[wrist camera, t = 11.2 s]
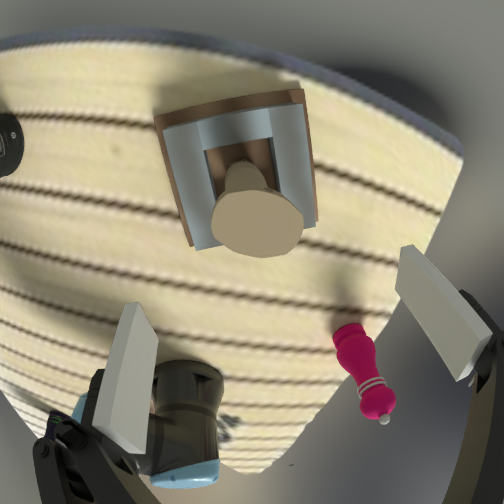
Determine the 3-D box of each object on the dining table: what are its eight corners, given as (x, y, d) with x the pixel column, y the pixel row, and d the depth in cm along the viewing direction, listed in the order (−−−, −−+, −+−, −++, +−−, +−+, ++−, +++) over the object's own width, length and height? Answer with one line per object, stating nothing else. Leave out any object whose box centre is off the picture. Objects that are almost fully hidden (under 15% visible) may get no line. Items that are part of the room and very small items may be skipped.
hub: (190, 243, 38) (187, 263, 34) (155, 116, 29) (144, 120, 25) (316, 217, 38) (328, 235, 34) (301, 88, 29) (314, 88, 25)
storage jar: (62, 424, 66) (54, 460, 54) (44, 409, 61) (33, 447, 49) (83, 426, 66) (76, 465, 54) (64, 411, 61) (55, 453, 48)
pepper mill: (332, 325, 49) (371, 421, 32) (368, 317, 50) (413, 405, 33) (328, 350, 53) (360, 438, 36) (361, 342, 53) (399, 425, 36)
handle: (220, 144, 31) (223, 180, 18) (273, 160, 32) (313, 206, 20) (208, 183, 33) (203, 245, 20) (260, 197, 35) (288, 264, 22)
